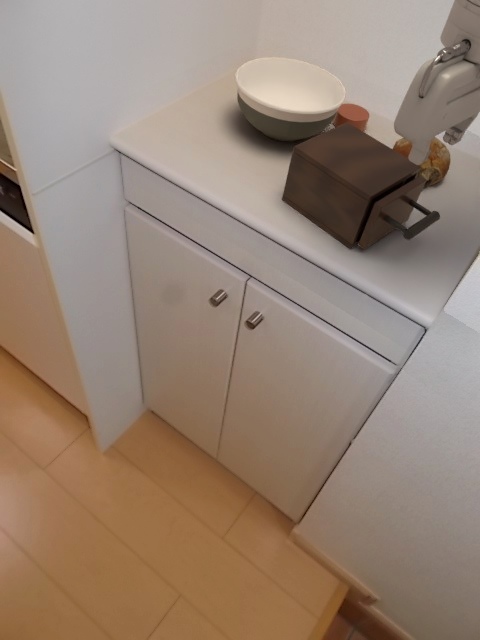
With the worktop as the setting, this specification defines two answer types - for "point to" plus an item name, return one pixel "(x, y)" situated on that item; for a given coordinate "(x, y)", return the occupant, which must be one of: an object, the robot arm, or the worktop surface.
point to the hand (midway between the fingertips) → (433, 151)
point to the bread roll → (429, 160)
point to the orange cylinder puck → (352, 116)
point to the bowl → (288, 97)
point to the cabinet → (343, 179)
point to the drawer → (396, 213)
